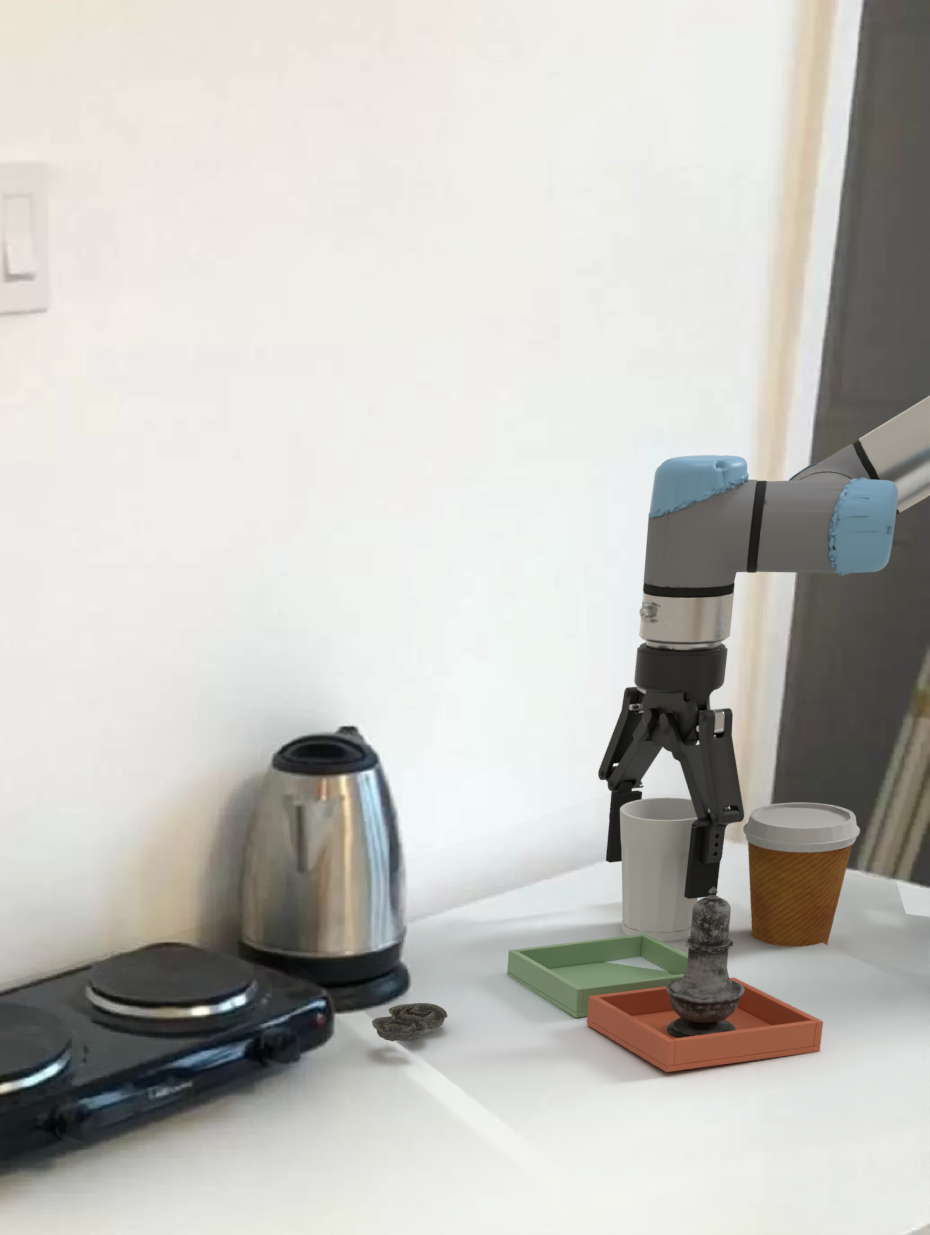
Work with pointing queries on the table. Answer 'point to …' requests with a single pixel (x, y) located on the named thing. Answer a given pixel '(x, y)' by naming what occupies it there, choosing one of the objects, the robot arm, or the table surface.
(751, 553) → the robot arm
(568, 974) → the green tray
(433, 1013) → the corroded twin loop
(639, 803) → the cup
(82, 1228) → the table surface
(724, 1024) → the salt shaker
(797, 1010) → the terracotta tray
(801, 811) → the disposable coffee cup
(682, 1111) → the table surface
